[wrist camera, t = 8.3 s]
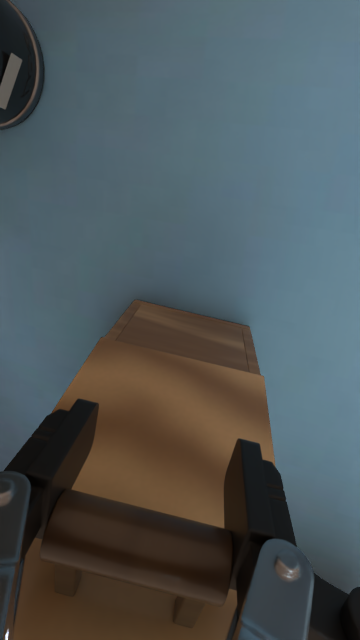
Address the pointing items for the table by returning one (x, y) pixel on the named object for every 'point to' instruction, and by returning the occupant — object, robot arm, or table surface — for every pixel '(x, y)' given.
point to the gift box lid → (145, 503)
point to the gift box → (187, 335)
